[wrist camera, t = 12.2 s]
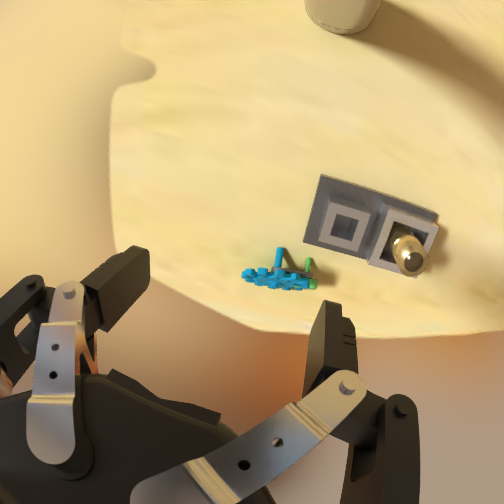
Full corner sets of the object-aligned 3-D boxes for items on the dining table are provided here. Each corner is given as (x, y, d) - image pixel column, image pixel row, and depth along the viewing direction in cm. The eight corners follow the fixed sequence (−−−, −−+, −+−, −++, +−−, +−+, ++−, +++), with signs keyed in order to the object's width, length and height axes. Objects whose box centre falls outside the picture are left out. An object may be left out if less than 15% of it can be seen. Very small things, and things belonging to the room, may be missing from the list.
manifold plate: (320, 173, 35) (321, 180, 31) (433, 211, 33) (446, 222, 29) (303, 238, 40) (301, 253, 36) (409, 269, 38) (417, 285, 34)
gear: (240, 286, 44) (240, 274, 35) (246, 252, 46) (248, 230, 36) (306, 297, 44) (324, 288, 35) (311, 263, 46) (328, 245, 36)
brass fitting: (390, 218, 34) (406, 242, 27) (414, 226, 34) (433, 251, 27) (381, 244, 36) (393, 272, 29) (404, 251, 36) (420, 280, 29)
